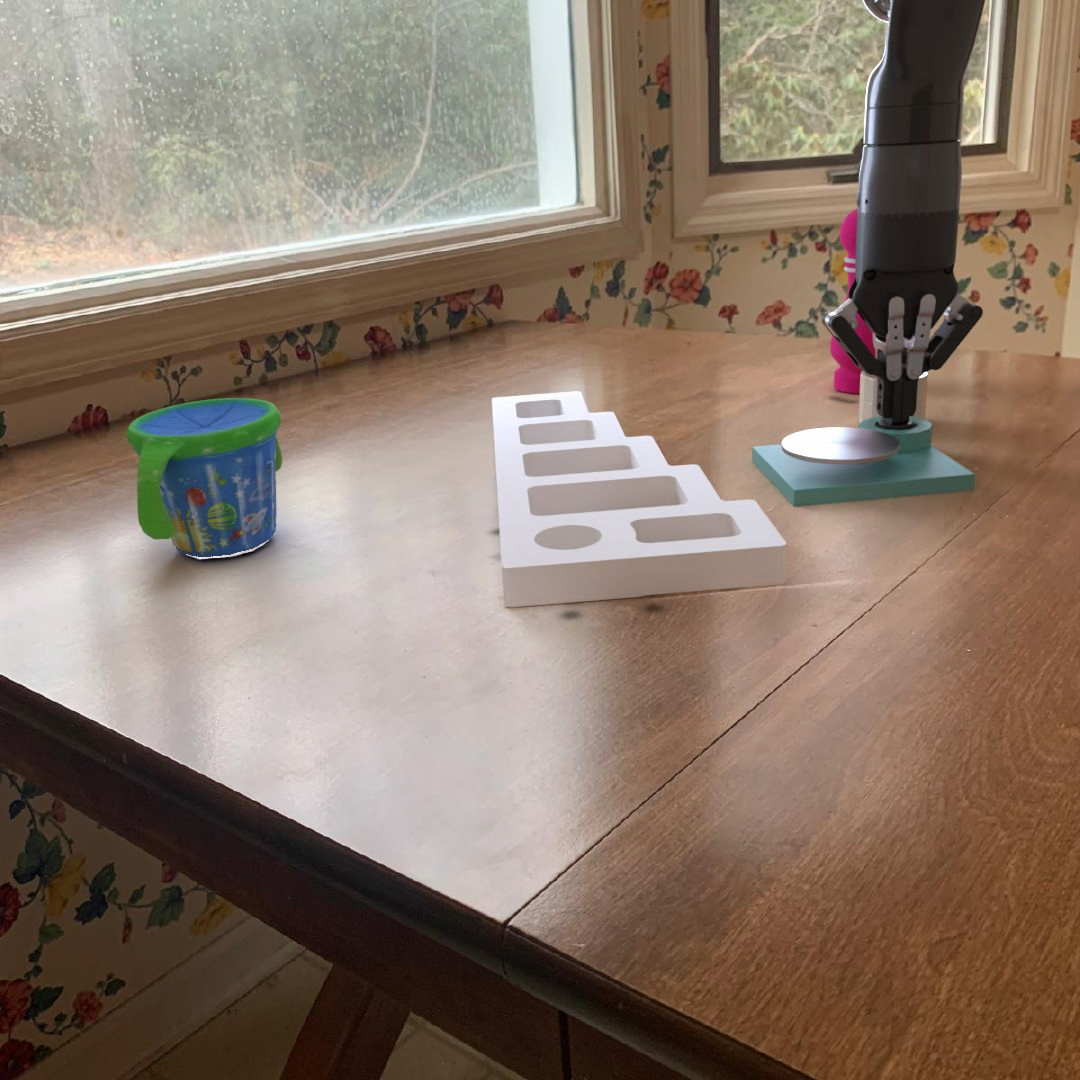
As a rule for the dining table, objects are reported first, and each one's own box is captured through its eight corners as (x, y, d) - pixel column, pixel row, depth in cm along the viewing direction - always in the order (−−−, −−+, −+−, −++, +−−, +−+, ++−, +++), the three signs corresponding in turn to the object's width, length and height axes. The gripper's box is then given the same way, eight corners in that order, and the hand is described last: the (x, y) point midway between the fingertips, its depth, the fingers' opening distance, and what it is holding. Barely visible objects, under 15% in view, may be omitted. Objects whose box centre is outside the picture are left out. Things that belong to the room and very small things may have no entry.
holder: (493, 423, 111) (491, 397, 110) (669, 410, 111) (669, 384, 110) (505, 607, 69) (501, 568, 68) (787, 584, 69) (788, 545, 68)
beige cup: (909, 416, 104) (912, 364, 102) (934, 431, 98) (938, 377, 96) (849, 421, 103) (851, 369, 102) (872, 437, 98) (874, 382, 96)
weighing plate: (874, 427, 90) (874, 423, 90) (918, 458, 82) (919, 453, 82) (767, 437, 90) (767, 432, 89) (801, 469, 81) (801, 464, 81)
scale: (913, 446, 95) (915, 413, 93) (978, 490, 83) (981, 453, 82) (750, 460, 94) (750, 427, 93) (793, 507, 82) (794, 469, 81)
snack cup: (216, 593, 74) (188, 449, 70) (98, 578, 78) (66, 441, 74) (341, 515, 87) (324, 391, 84) (235, 506, 91) (214, 387, 88)
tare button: (904, 433, 92) (905, 415, 92) (918, 442, 90) (919, 424, 89) (872, 436, 92) (873, 418, 92) (884, 445, 90) (885, 427, 89)
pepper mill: (915, 386, 114) (927, 186, 107) (868, 399, 110) (877, 192, 103) (860, 376, 120) (868, 185, 112) (814, 388, 116) (819, 192, 109)
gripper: (840, 214, 80) (832, 440, 87) (1014, 201, 81) (994, 427, 87) (808, 207, 87) (803, 417, 94) (968, 196, 88) (952, 405, 94)
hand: (895, 421), depth 90 cm, fingers closed
